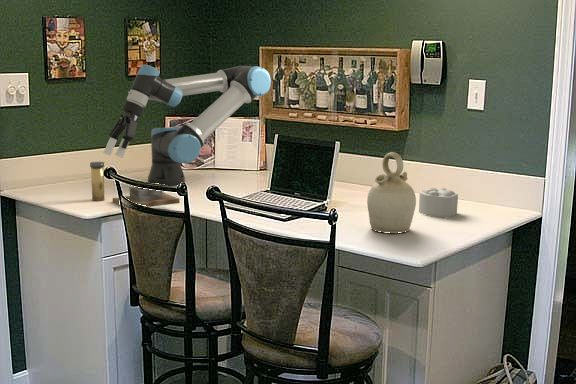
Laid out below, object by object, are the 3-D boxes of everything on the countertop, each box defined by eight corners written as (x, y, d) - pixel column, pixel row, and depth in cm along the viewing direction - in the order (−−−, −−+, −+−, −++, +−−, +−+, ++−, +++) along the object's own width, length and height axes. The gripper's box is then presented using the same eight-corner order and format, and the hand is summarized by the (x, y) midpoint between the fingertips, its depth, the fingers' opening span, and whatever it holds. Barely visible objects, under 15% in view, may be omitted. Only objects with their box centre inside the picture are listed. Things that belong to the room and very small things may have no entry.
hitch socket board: (162, 196, 283) (161, 181, 282) (179, 202, 272) (179, 188, 270) (112, 202, 271) (112, 187, 270) (128, 209, 260) (128, 193, 259)
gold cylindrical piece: (102, 198, 278) (100, 161, 275) (107, 200, 274) (106, 163, 271) (89, 199, 275) (87, 162, 272) (94, 202, 271) (93, 164, 268)
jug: (381, 237, 228) (385, 156, 222) (357, 225, 241) (360, 149, 236) (424, 233, 234) (428, 154, 229) (397, 222, 247) (401, 147, 242)
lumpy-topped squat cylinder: (447, 218, 253) (449, 193, 252) (413, 213, 261) (414, 189, 259) (459, 213, 262) (461, 189, 260) (425, 208, 269) (426, 184, 267)
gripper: (115, 99, 290) (93, 149, 287) (138, 99, 269) (115, 153, 266) (132, 108, 294) (110, 157, 291) (156, 108, 273) (133, 161, 270)
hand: (112, 155), depth 279 cm, fingers open, 13 cm apart
